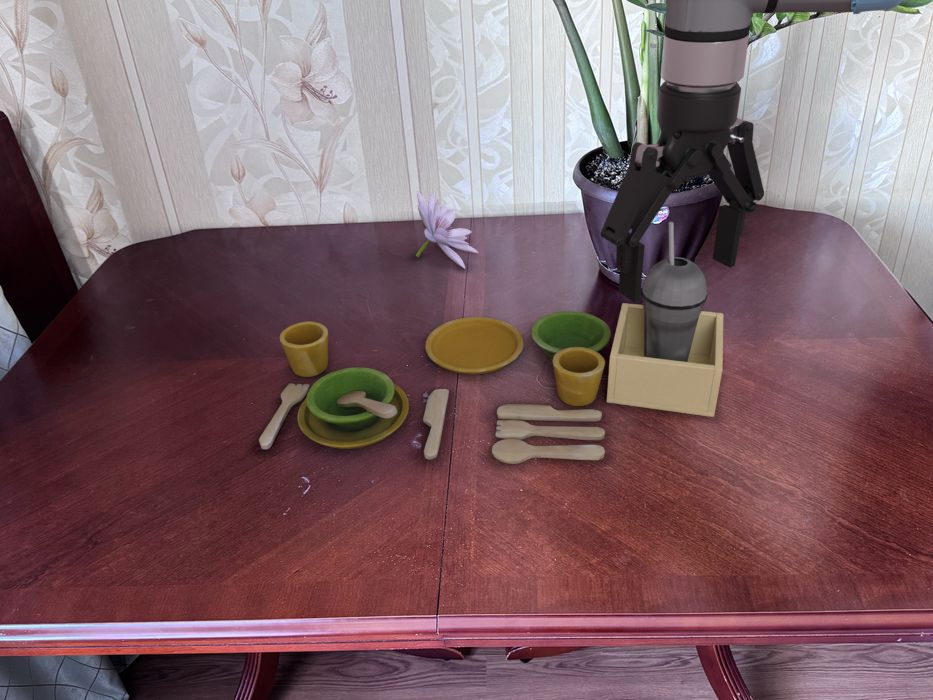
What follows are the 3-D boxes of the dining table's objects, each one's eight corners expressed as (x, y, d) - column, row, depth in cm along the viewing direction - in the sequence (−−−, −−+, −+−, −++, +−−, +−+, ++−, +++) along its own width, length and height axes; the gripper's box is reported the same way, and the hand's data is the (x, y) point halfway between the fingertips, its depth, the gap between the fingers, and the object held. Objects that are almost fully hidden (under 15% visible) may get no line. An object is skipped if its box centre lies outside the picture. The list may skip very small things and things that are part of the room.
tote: (715, 357, 92) (723, 313, 89) (713, 417, 83) (722, 370, 79) (618, 346, 96) (622, 302, 92) (606, 402, 86) (609, 356, 82)
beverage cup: (691, 397, 85) (716, 241, 74) (628, 387, 87) (643, 234, 76) (696, 362, 91) (720, 212, 79) (637, 354, 93) (652, 207, 82)
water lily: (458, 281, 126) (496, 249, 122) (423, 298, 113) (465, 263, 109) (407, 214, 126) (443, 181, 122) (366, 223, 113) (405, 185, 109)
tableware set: (243, 454, 82) (230, 410, 78) (314, 322, 104) (306, 283, 101) (619, 469, 77) (623, 423, 73) (607, 327, 99) (609, 286, 96)
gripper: (765, 53, 77) (735, 238, 89) (569, 97, 68) (565, 296, 80) (825, 66, 71) (785, 261, 83) (620, 116, 62) (608, 327, 74)
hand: (677, 279), depth 81 cm, fingers open, 13 cm apart
